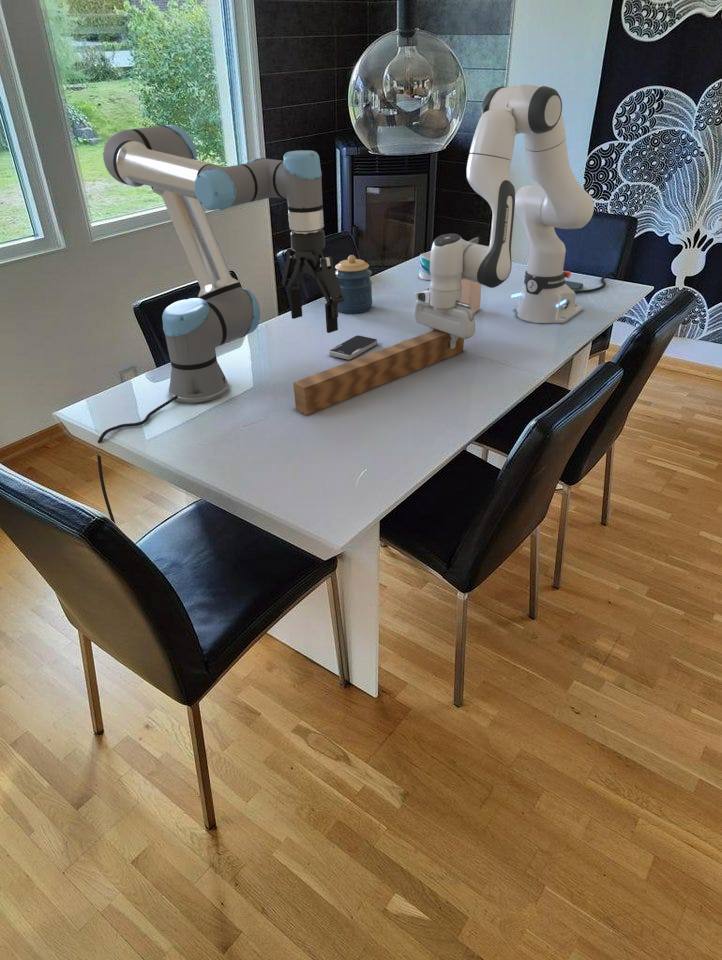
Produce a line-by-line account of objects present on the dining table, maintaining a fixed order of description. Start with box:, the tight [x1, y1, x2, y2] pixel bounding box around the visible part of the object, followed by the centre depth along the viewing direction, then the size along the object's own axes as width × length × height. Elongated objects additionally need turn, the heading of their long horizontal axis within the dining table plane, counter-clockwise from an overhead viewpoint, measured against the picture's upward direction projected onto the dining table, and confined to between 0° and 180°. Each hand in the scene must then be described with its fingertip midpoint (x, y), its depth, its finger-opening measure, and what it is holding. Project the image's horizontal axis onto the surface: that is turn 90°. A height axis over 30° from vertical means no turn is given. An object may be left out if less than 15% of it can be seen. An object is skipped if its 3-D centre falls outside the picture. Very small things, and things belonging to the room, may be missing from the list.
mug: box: [418, 251, 431, 281], centre depth 257 cm, size 8×12×8 cm
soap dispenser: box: [461, 236, 482, 314], centre depth 219 cm, size 13×9×22 cm
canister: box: [334, 254, 373, 314], centre depth 225 cm, size 13×13×18 cm
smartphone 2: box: [565, 280, 584, 291], centre depth 241 cm, size 8×2×15 cm
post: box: [292, 329, 465, 416], centre depth 179 cm, size 57×5×7 cm, turn 131°
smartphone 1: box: [328, 334, 378, 361], centre depth 198 cm, size 8×1×15 cm
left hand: (314, 324), depth 158 cm, fingers open, 13 cm apart
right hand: (443, 345), depth 191 cm, fingers closed on post, 4 cm apart
